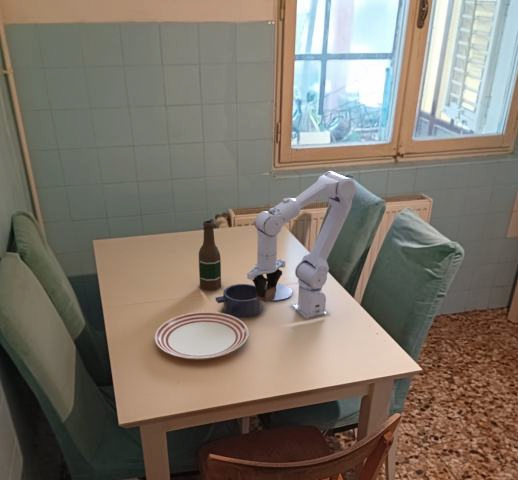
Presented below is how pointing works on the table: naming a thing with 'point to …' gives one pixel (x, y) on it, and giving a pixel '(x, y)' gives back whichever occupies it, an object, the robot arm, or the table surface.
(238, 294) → the pot
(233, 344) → the dinner plate
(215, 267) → the beer bottle
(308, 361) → the table surface
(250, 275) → the robot arm
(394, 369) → the table surface
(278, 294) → the lid
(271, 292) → the block
